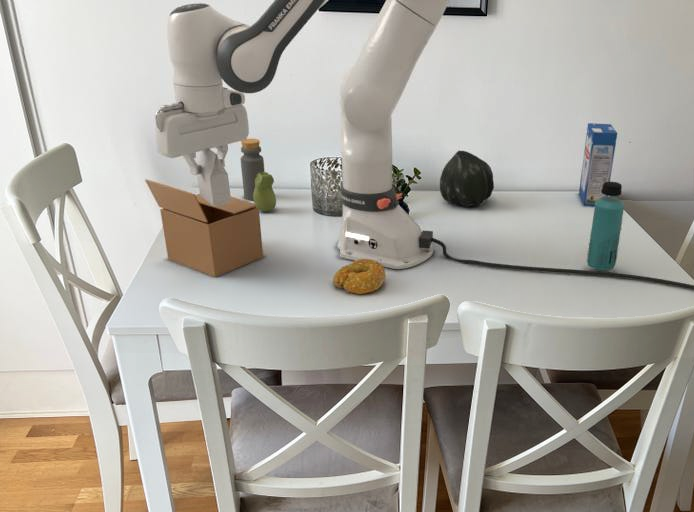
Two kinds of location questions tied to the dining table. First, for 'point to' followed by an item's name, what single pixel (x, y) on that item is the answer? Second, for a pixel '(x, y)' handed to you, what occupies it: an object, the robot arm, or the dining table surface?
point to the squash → (466, 180)
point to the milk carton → (597, 162)
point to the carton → (214, 236)
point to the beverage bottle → (606, 228)
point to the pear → (264, 192)
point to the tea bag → (213, 179)
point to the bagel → (360, 276)
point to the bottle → (250, 165)
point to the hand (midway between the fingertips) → (208, 170)
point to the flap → (176, 200)
